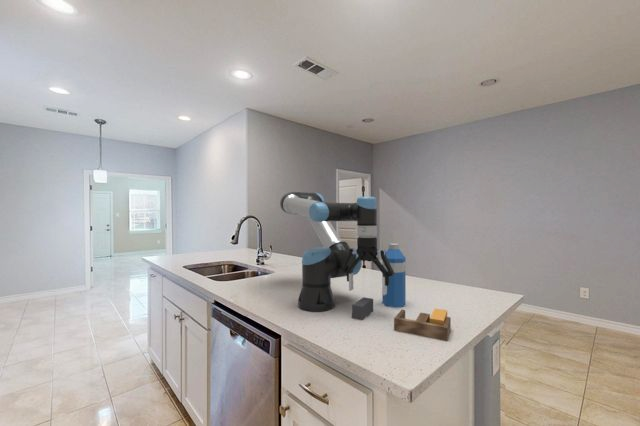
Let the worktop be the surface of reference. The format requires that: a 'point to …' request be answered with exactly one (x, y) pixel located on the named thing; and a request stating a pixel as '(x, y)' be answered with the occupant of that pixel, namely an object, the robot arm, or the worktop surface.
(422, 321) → the bronze desk organizer
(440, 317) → the tall orange brick
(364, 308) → the tall gray prism
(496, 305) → the worktop surface
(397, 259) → the blue water bottle
